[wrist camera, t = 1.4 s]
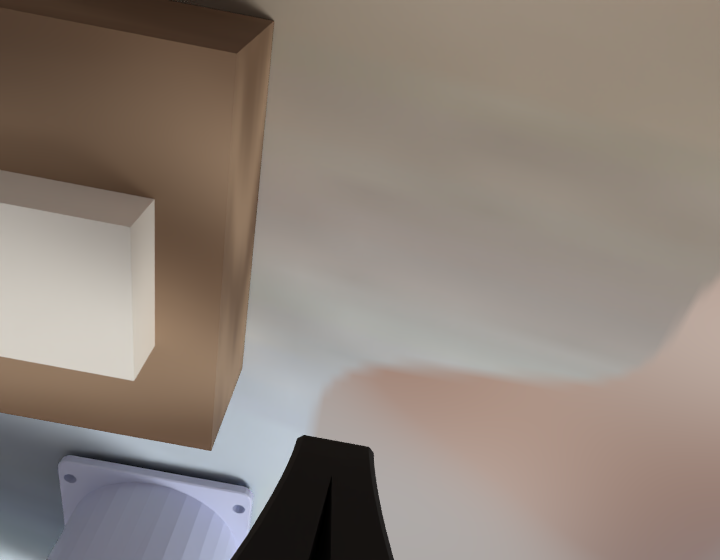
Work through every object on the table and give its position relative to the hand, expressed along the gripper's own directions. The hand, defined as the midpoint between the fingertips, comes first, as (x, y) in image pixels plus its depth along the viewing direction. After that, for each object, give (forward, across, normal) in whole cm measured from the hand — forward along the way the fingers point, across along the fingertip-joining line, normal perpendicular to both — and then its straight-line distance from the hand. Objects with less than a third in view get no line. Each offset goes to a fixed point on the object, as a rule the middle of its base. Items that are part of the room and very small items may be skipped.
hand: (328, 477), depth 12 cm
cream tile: (+5, +8, 0) cm, 9 cm away
